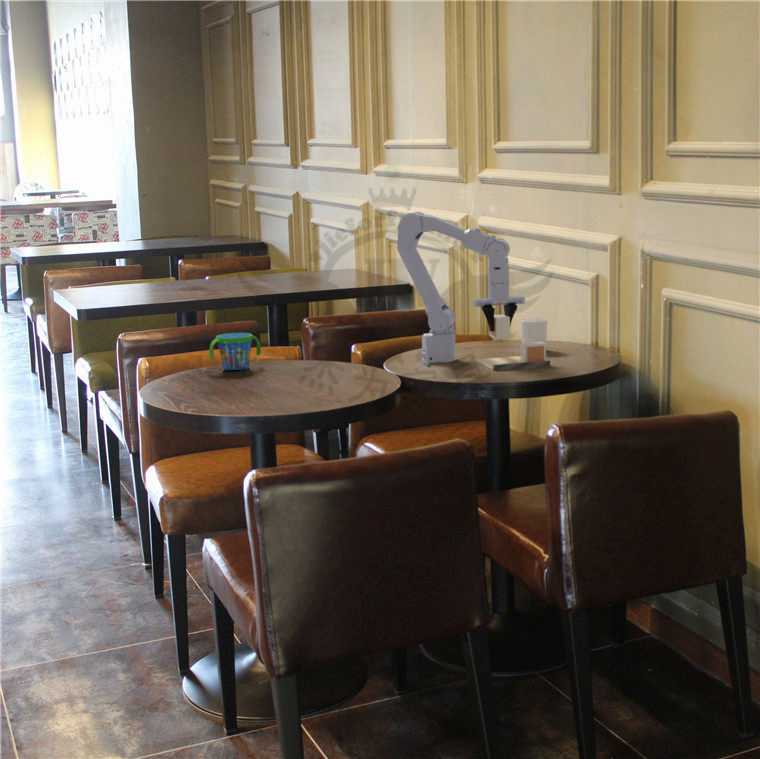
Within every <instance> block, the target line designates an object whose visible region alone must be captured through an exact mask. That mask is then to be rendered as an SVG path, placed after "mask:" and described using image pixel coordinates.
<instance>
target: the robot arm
mask: <svg viewBox="0 0 760 759" xmlns="http://www.w3.org/2000/svg"><path fill="white" fill-rule="evenodd" d="M396 229H397V242H396V244H397V245H396V250H397V252H398V255H399V256H400V258H401V260H402V262H403V264H404V266H405V268H406V270H407V272H408V274H409V276H410V278H411V280H412V282H413V284H414V286H415V288H416V290H417V292H418V294H419V296H420V298H421V300H422V303H423V304H424V309H425V314H426V316H427V318H428V319H427V324H428V327H429V328H430V329H429V332H428V333H423V334H422V337H421V356H422V359H421V361H422V362H423V364H426V365H427V366H432V363H433V364H434V363H448V362H449V363H450V362H454V361H456V358H457V357H456V332H455V331H456V330H455V329H454V327H453V325H454V324H455V322H456V318H457V317H456V314H455V311H454V310H453V309H452V308H451V307H450V306H448V304H447V303H446V301H445V300H444V299H443V298H442V297H441V295H440V293H439V291H438V289H437V287H436V284H435V283H434V281H433V279H432V277H431V275H430V273H429V270H428V269H427V267H426V264H425V262H423V259H422V257H421V255H420V253H419V251H418V249H417V247H418V243H419V241H420V238H421V236H422V235H423V234H424V233H429V232H430V233H431V232H436V233H440V234H442V235H445V236H447V237H450V238H453V239H456V240H458V241H460V242H461V243H462V247H463V248H465V249H468V250H470V251H473V252H475V253H478V254H480V255H482V256H485V255H486V257H487V258H488V269H487V270H488V273H487V274H488V297H485V298H477V299H475V298H474V299H473V301H472V302H473V307H474V308H479V307H481V310H482V312H483V314H484V316H485V319H486V322H487V324H488V325H487V326H488V329H489V332H490V331H491V332H493V331H494V315H495V313H496V312H495V311H496V308H494V306H503V311H504V315H505V316H508V317H510V327H511V326H512V321H513V319H514V316H515V313H516V312H517V310H518V305H522V304H523V305H524V304H526V303H525V301H526V300H525V296H523V295H521V296H520V295H519V296H510V267H509V257H508V256H509V254H510V251H511V250H510V249H511V248H510V245H509V243H508V242H507V241H506V240H504V239H503V238H501V237H500V238H499V237H498V238H496V235H495V234H492V235H490V234H487V233H485V232H483V231H481V228H479V227H475V228H473V227H471V228H468V229H463V228H461V227H459V226H457V225H454V224H453V223H450V222H447V221H445V220H443V219H442V218H439V217H437V216H434V215H431V214H428V213H425V214H424V212H421V211H414V212H409V213H406V214H404V215H403V216H401V218H400V220H399V223H398V225H397V227H396Z"/></svg>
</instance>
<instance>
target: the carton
mask: <svg viewBox="0 0 760 759" xmlns="http://www.w3.org/2000/svg"><path fill="white" fill-rule="evenodd" d="M489 337H490V338H493V339H495V340H508V339H511V326H510V317H508V316H505V314H494V331H493V332H491V331H489Z"/></svg>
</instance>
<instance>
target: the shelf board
mask: <svg viewBox="0 0 760 759" xmlns="http://www.w3.org/2000/svg"><path fill="white" fill-rule="evenodd" d="M475 360H476V361H477V362H479V363H481V364H482V365H484V366H485V367H487V368H489V369H491V370H492V371H494V372H495V371H508V370H509V371H511V370H523V369H534V368H535V369H536V368H548V367H551V360H546V361H537V362H524V363H521V355H518V356H517V355H516V356H504V357H502V356H501V357H490V358H489V357H488V358H479V359H478V358H477V359H475Z"/></svg>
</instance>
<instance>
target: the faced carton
mask: <svg viewBox="0 0 760 759" xmlns="http://www.w3.org/2000/svg"><path fill="white" fill-rule="evenodd" d="M519 344H520V345H519V346H520V347H519V348H520V356H521V363H524V362H537V361H547V342H546V343H543V342H527V343H522V342H520V343H519Z"/></svg>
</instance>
